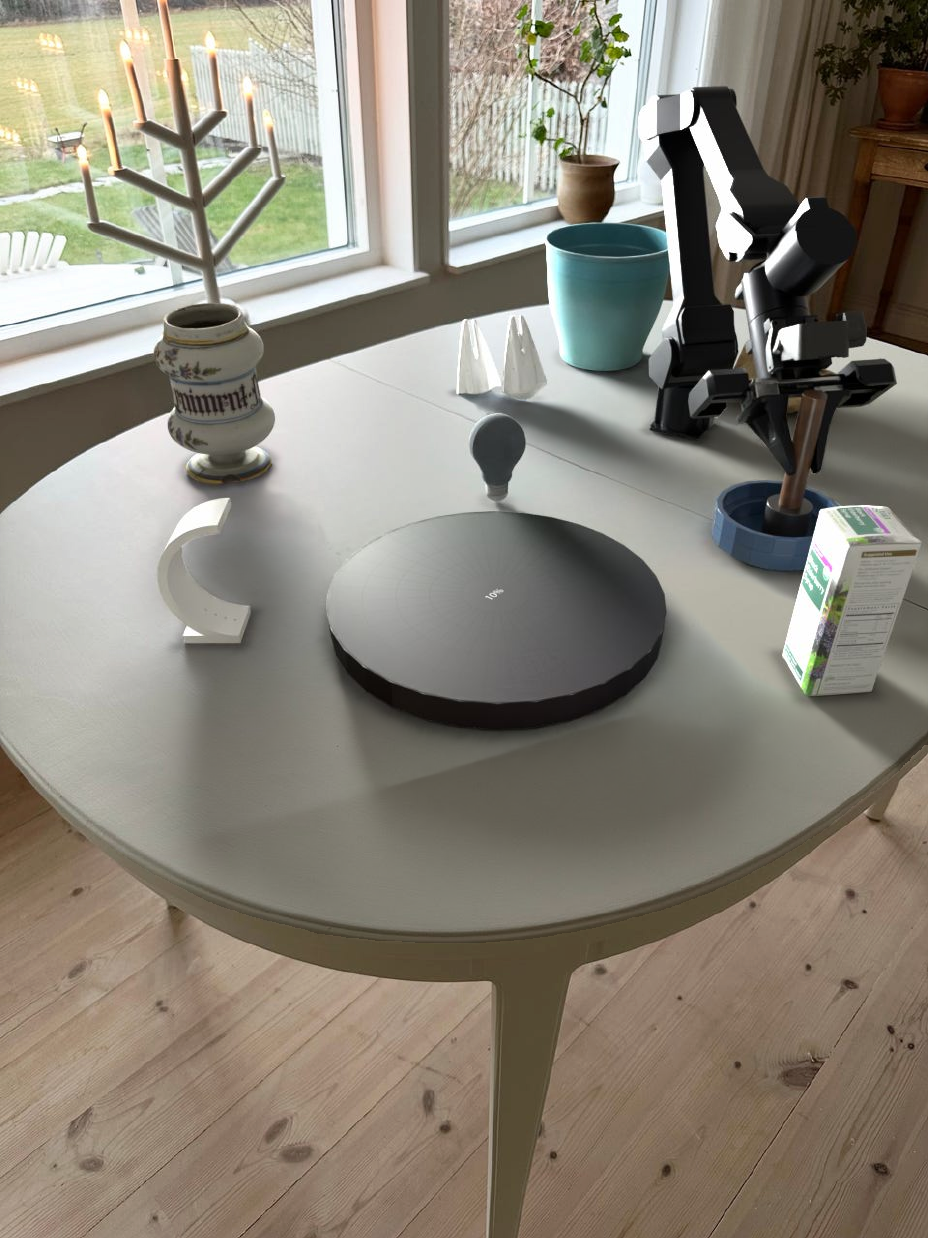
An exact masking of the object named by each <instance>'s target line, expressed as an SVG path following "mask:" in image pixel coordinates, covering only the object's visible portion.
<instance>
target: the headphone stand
mask: <svg viewBox="0 0 928 1238" xmlns="http://www.w3.org/2000/svg"><path fill="white" fill-rule="evenodd" d="M231 508H232V502H231V498H230V497H221V498H215V499H211V500H207V501H205V502H202V503H200V504H198V505H196V506H194V507H193V508H191V509H190V510H189V511H188V512H187V513H186V514H184V516H183V517H181V519H180V521H178V523H177V524H176V527H175V529H174V530H173V533H172V534H171V537H170V539H169V540H168V543H167V544H166V545H165V547H164V550H163V552H162V553H161V556H160V558H159V560H158V564H157V573H156V576H157V577H156V578H157V585H158V589H159V592H160V595H161V597H162V599H163V601H164V603H165V605H166V606H167V607H168V609H169V610H170V612H171V613H172V614H173V615H174V616H175V617H176V618H177V619H178V620H179V621H180V622H181V623H183V624H184V625H185V626H186V627H185V630H184V632H183V634H182V638H183V643H184V644H241V642H242V640H243V636H244V634H245V631H246V628H247V626H248V622H249V619H250V617H251V614H252V612H251V606H250V605H242V604H236V603H231V602H229V601H228V602H227V601H225V600H223V599H220V598H217V597H215V596H214V595H212V594H210V593H209V592H207V591H206V590H205V589H203V587H201V586H200V585H199V584H198V583H197V582H196V581H195V580H194V578H193V576H191V574H190V573H189V571H188V569H187V567H186V565H185V562H184V558H183V550H182V548H183V546H185V545H186V544H187V543H189V542H191V541H192V540H196V539H197V538H198V539H199V538H201V537H204V536H209V535H220V532H221V531H222V528H223V526H224V524H225V521H226V520H227V518H228V515H229V513H230V511H231Z"/></svg>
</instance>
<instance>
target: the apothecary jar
mask: <svg viewBox="0 0 928 1238" xmlns="http://www.w3.org/2000/svg"><path fill="white" fill-rule="evenodd" d="M162 326H163V328H162V329H163V330H162V335H161V336H160V337H159V338H158V340H156V343H155V344H154V348H153V359H154V362H155V364H156V366H157V367H158V368H159V370H160V371H161V372H163V373H164V374H166V375H168V376H169V381H170V387H171V391H172V398H173V403H174V407H173V409H171V411H170V413H169V415H168V418H167V431H168V433H169V435H170V437H171V438H172V440H173V441H174V442H175V443H176V444H177V445H179V446H180V447H181V448H184V449H185V450H188V451H189V452H193V453H196V454H195V455H192V457H191V458H190V459H189V460H188V462H187V463H186V466H185V470H186V473H187V474H188V476H189V477H190V478H192V479H193V480H195V481H197V482H200V483H203V484H208V485H226V484H229V483H232V482H238V483H244V482H247V481H251V480H253V479H256V478H258V477H260V476H261V475H263V474H264V473H266V472H267V471H268V470H269V468H270V467H271V465H272V458H271V456H270V455H269V453H268V452H267V451H266V450H264V449H263V448H261V447H258V445H260V444H261V443H262V442H263V441H264V440H266V438H268V436H269V435H270V434H271V432H272V431H273V429H274V427H275V423H276V415H275V411H274V408H273V407H272V405H271V404H270V403H269V402H268V401H267V399H265V398H264V397H262V395H261V390H260V386H259V379H258V375H257V374H258V373H257V365H258V364H259V362H260V361H261V359H262V358H263V355H264V348H265V347H264V342H263V340H262V338H261V336H260V335H259V334H258V332H256V331H255V330H254V329H253V328H251V327H250V326H248V324H247V323H246V321H245V317H244V314H243V311H242V310H241V309H240V308H239V307H237V306H235V305H233V304H229V303H221V302H203V303H196V304H195V303H194V304H189V305H185V306H182V307H178V308H176V309H173V310H171V311H170V312H168V313H167V314H165V316H164V317H163V319H162Z"/></svg>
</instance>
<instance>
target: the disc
mask: <svg viewBox="0 0 928 1238" xmlns="http://www.w3.org/2000/svg"><path fill="white" fill-rule="evenodd" d="M666 601H667V600H666V594H665V591H664V588H663V587H662V585H661V583H660V581H659V578H658V576H657V575H656V574H655V573H654V571H653V570H652V569H651V568H650V566H649V565H648V564H647V563H646V562H645V560H644V559H642V558H641V557H640V556H639V555H637V553H635V552H634V551H632V550H631V549H630V548H629V547H627V546H626V545H624V544H623V543H622V542H619V541H617V540H615V539H614V538H612V537H610V536H608V535H606V534H605V533H603V532H600V531H597V530H595V529H592V528H589V527H588V526H585V525H582V524H579V523H577V522H573V521H569V520H568V521H567V520H565V519H560V518H557V517H553V516H548V515H541V514H534V513H526V512H520V511H519V512H518V511H517V512H516V511H496V510H491V511H490V510H488V511H487V510H486V511H467V512H466V511H465V512H459V513H452V514H445V515H438V516H437V515H436V516H434V517H430V518H425V519H421V520H418V521H413V522H410V523H408V524H405V525H403V526H400V527H397V528H395V529H391V530H390V531H387V532H384V533H383V534H381V535H379V536H377V537H376V538H374V539H372V540H370V541H368V542H367V543H365V544H364V545H362V546H361V547H360V548H359V549H358V550H356V551H355V552H354V553H353V554H351V555H350V556H349V557H347V559H346V560H345V561H344V562H343V564H341V566H340V567H339V569H338V570H337V571H336V572H335V574H334V575H333V578H332V580H331V583H330V584H329V587H328V589H327V592H326V602H325V603H326V604H325V613H326V618H327V620H328V626H329V635H330V640H331V644H332V647H333V650H334V655H335V657H336V658H337V660H338V661H339V663H340V665H341V666H342V668H343V670H344V671H345V672H346V674H347V675H348V676H349V677H350V678H351V679H352V680H353V681H354V682H355V683H356V684H358V685H359V686H360V687H361V688H362V689H363V690H364V691H365V692H366V693H367V694H369V695H371V696H372V697H374V698H376V699H377V700H379V701H380V702H382V703H385V704H386V705H388V706H390V707H391V708H393V709H396V710H399V711H401V712H403V713H407V714H409V715H411V716H414V717H416V718H419V719H422V720H425V721H430V722H433V723H439V724H443V725H447V726H452V727H458V728H464V729H465V728H467V729H477V730H478V729H479V730H490V731H491V730H492V731H503V730H520V729H537V728H541V727H545V726H550V725H555V724H561V723H566V722H570V721H574V720H576V719H579V718H581V717H583V716H587V715H590V714H592V713H595V712H598V711H601V710H602V709H604V708H606V707H608V706H609V705H611V704H613V703H614V702H615V703H616V701H618V700H620V699H622V698H623V697H625V696H627V695H628V694H629V693H630V692H631V691H632V690H633V689H635V688H636V687H637V686H638V685H639V684H640V683H641V682H642V681H643V680H644V679H646V677H647V676H648V674H649V673H650V671H651V670H652V668H653V666H654V665H655V663H656V662H657V660H658V659H659V658H658V657H659V655H660V650H661V647H662V642H663V637H664V631H665V625H666V618H667V613H668V612H667V610H668V609H667V602H666Z"/></svg>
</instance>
